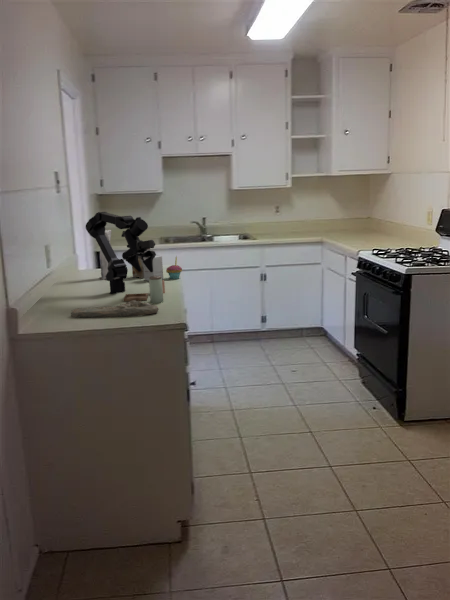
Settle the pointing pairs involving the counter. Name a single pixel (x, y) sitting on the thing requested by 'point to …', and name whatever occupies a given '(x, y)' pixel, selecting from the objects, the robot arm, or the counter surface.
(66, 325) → the counter surface
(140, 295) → the walnut tray
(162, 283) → the terracotta cup
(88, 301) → the counter surface
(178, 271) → the cupcake
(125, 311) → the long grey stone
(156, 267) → the supplement box
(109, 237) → the skyscraper
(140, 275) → the coffee box
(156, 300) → the spice jar
